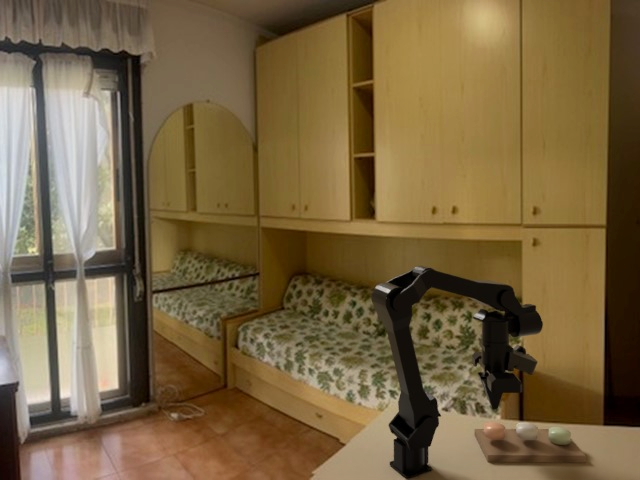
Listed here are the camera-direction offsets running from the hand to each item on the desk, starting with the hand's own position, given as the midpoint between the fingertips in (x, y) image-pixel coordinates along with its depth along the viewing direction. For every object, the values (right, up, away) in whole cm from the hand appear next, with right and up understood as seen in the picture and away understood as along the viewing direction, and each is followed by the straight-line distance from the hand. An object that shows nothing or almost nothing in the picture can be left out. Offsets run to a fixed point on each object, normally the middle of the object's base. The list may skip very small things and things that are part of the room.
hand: (494, 408), depth 117 cm
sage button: (+14, -7, 0) cm, 16 cm away
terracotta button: (0, -6, +1) cm, 6 cm away
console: (+7, -9, +1) cm, 11 cm away
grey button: (+7, -6, 0) cm, 9 cm away
